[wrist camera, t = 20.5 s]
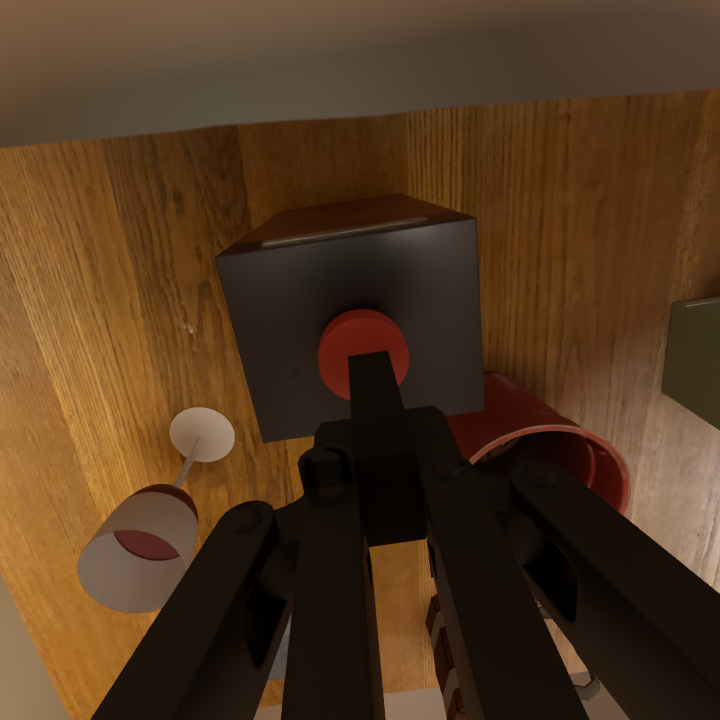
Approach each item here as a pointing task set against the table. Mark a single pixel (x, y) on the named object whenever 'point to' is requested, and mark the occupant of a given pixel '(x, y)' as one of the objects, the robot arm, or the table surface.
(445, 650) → the mug
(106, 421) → the table surface
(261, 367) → the red button pedestal
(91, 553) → the wineglass
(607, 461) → the flower pot
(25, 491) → the table surface
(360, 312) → the timer button
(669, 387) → the toaster
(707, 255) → the table surface
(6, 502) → the table surface
